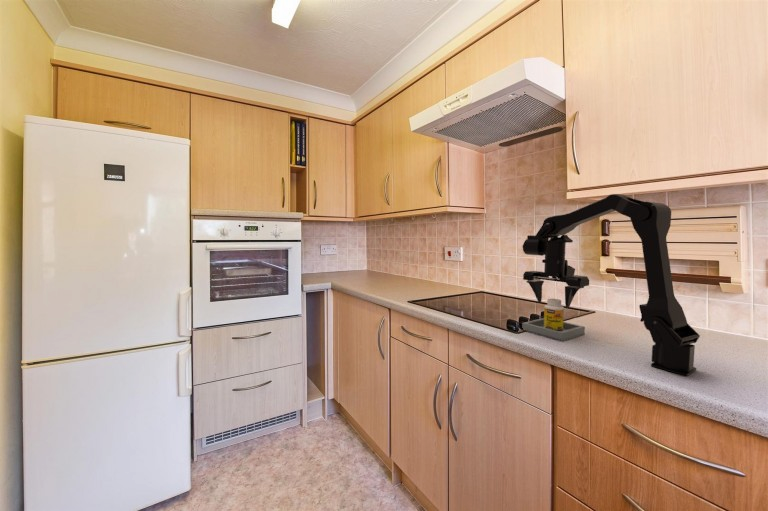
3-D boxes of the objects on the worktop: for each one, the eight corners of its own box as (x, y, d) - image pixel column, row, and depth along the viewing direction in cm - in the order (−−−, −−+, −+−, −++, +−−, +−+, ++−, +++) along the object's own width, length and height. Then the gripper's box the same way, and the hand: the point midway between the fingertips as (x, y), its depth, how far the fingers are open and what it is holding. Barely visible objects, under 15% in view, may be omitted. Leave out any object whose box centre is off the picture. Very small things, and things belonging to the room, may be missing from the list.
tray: (584, 334, 100) (584, 326, 100) (561, 341, 94) (561, 333, 93) (545, 324, 111) (545, 317, 111) (522, 330, 105) (522, 322, 105)
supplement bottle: (543, 331, 101) (544, 300, 101) (544, 327, 106) (544, 297, 105) (563, 334, 99) (564, 302, 98) (563, 330, 103) (564, 299, 103)
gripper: (599, 257, 97) (597, 307, 98) (542, 254, 113) (540, 297, 114) (580, 258, 92) (578, 311, 92) (522, 255, 107) (521, 300, 108)
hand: (553, 304), depth 102 cm, fingers open, 9 cm apart
